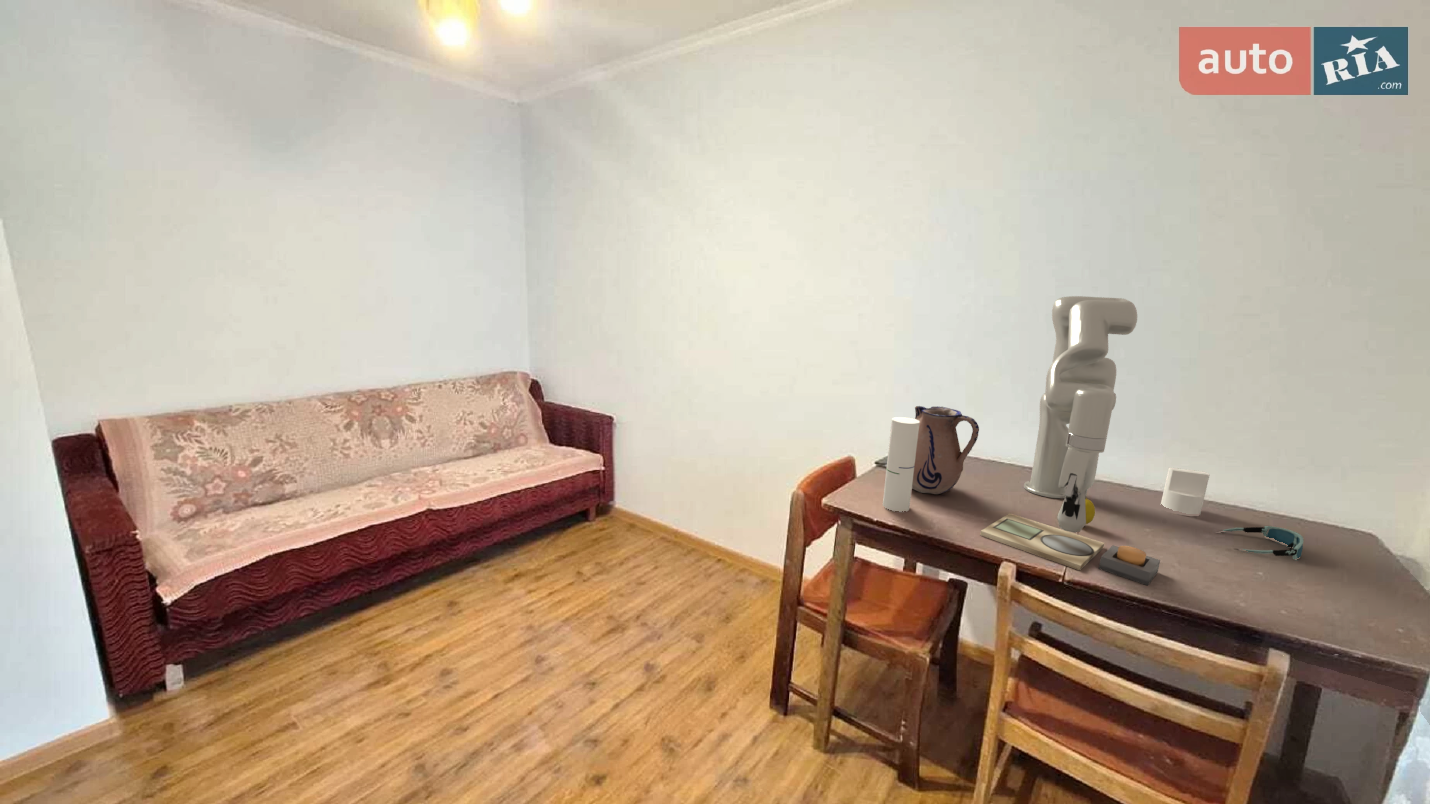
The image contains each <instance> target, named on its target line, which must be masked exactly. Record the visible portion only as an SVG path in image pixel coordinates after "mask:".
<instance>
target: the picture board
mask: <svg viewBox="0 0 1430 804" xmlns="http://www.w3.org/2000/svg"><path fill="white" fill-rule="evenodd" d="M979 534H980V536H981V537H983V538H987V539H990V540H992V541H996V542H998V543H1000V544H1004V545H1007V546H1009V547H1012V548H1015V549H1018V550H1020V551H1024V552H1025V553H1030V554H1032V555H1035V556H1038V557H1040V558H1042V559H1046V560H1048V561H1051V562H1054V563H1057V564H1060V565H1063V566H1066V567H1068V568H1072V569H1074V570H1076V571H1081V570H1082V569H1083V568H1084V567H1085V566H1086V565H1087V564H1088V563H1090V561H1091V560H1092V559H1094V557H1095V556H1097V554H1099V552H1101V551H1102V550H1103V549H1104V548H1103V547H1105V542H1102V541H1099V540H1097V539H1094V538H1093V539H1092V538H1089V537H1087V536H1085V535H1084V536H1083V535H1080V534H1077V533H1074V532H1069V531H1065V530H1063V529H1062V528H1059V527H1055V526H1052V525H1048V524H1046V523H1042V522H1038V521H1035V520H1033V519H1030V518H1026V517H1023V516H1020V515H1016V514H1013V513H1011V512H1010V513H1008V514H1006V515H1005V516H1003V517H1001V518H1000V519H998V520H996V521H995V522H993V523H991V524H990V525H988V526H986V527H985V528H983V529H981V530H980V533H979ZM1101 549H1102V550H1101Z"/></svg>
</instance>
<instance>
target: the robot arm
mask: <svg viewBox="0 0 1430 804" xmlns="http://www.w3.org/2000/svg"><path fill="white" fill-rule="evenodd" d="M1051 316H1052V317H1051V318H1052V324H1053V328H1054V331H1055V332H1054V333H1055V345H1054V351H1053V357H1052V362H1051V364H1050V366H1049V368H1048V370H1047V374H1046V378H1045V379H1046V381H1045V393H1043V394H1042V395H1041V397H1040V399H1039V423H1038V424H1039V425H1038V433H1037V440H1036V445H1035V452H1034V457H1033V464H1032V469H1031V476H1030V480H1026V481H1025V482H1024V483H1023V488H1024V489H1025V490H1026V491H1028V492H1030V493H1032V494H1035V495H1038V496H1041V497H1044V498H1045V497H1046V498H1052V499H1063V502H1064V504H1063V503H1062V504H1063V510H1062V514H1063V513H1064V511H1065V510H1066V511H1065V515H1066V516H1068V517H1072V516H1073V515H1074V512H1075V516H1076V520H1077V517H1078V513H1079V509H1080V505H1079V500H1080V496H1081V493H1082V492H1084V491H1085V499H1086V498H1087V495H1088V490H1089V489H1090V488H1091V487H1093V486H1094V483H1095V479H1096V474H1097V469H1098V464H1099V457H1100V455H1099V454H1101V453H1104V452H1105V450H1106V449H1105V448H1106V443H1107V439H1108V433H1109V427H1110V423H1111V419H1112V418H1111V417H1112V412H1113V410H1114V409H1115V406H1116V404H1117V395H1116V393H1115V391H1114V390H1115V387H1116V386H1115V385H1116V379H1117V365H1116V363H1115V361H1114V360H1113V359H1111V358H1109V357H1107V355H1108V354H1109V335H1118V336H1120V335H1123V336H1125V335H1129V334H1132V332H1133V331H1134V330H1135V328H1136V326H1137V322H1138V311H1137V307H1136V306H1135V304H1134V303H1133V302H1132V301H1130V300H1128V299H1126V298H1122V297H1102V296H1099V297H1098V296H1097V297H1096V296H1083V295H1082V296H1077V295H1074V296H1073V295H1071V296H1063V297H1059V298H1057V299H1056V300H1055V301H1054V303H1053V304H1052V310H1051ZM1067 482H1068V484H1067ZM1074 488H1076V489H1078V490H1077V491H1076V490H1074ZM1073 493H1075V494H1077V496H1076V495H1074V494H1073Z"/></svg>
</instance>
